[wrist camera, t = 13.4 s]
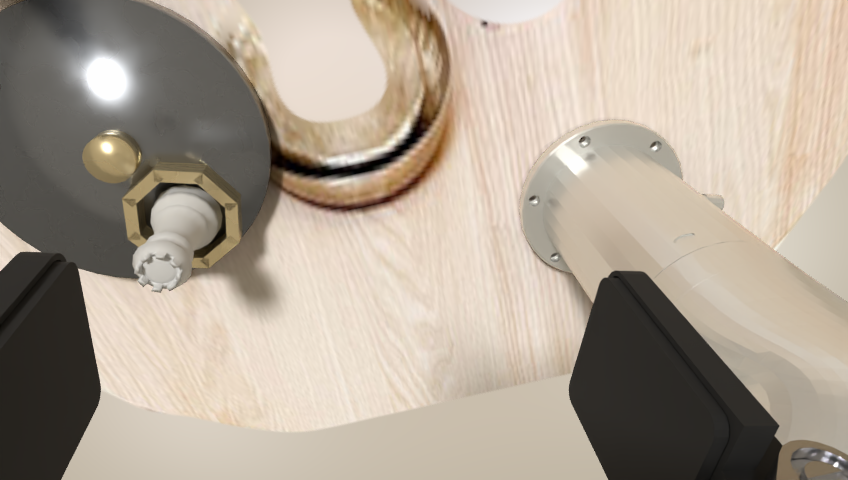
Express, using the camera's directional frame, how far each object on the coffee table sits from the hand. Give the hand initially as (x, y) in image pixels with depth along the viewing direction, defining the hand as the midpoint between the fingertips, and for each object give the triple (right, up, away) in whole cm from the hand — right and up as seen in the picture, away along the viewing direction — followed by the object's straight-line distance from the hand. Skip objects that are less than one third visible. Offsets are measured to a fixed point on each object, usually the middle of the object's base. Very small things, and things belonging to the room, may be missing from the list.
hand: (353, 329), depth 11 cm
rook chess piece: (-15, +4, +29) cm, 33 cm away
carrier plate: (-19, +8, +28) cm, 34 cm away
